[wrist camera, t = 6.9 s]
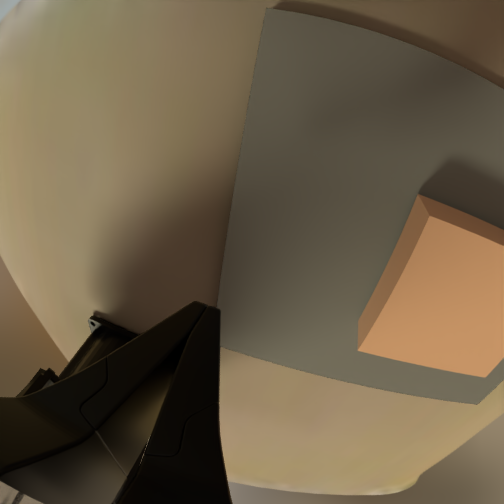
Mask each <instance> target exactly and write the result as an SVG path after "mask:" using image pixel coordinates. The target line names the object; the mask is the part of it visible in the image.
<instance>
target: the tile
mask: <svg viewBox="0 0 504 504" xmlns="http://www.w3.org/2000/svg"><path fill="white" fill-rule="evenodd" d="M358 351H361V352H365V353H369V354H373V355H377V356H381V357H386V358H390V359H394V360H399V361H403V362H408V363H412V364H417V365H422V366H426V367H431V368H436V369H441V370H446V371H451V372H457V373H462V374H467V375H473V376H479V377H486V376H487V375H488V374H489V373H490V372H491V371H492V370H493V369H494V368H495V367H496V366H497V365H498V364H499V362H500V361H501V360H502V359H503V358H504V230H503V229H500V228H498V227H496V226H494V225H492V224H490V223H487V222H485V221H483V220H481V219H479V218H476V217H474V216H472V215H469V214H467V213H465V212H462V211H460V210H457V209H455V208H453V207H450V206H448V205H445V204H443V203H440V202H438V201H435V200H433V199H430V198H427V197H425V196H422V195H420V194H418V195H417V197H416V200H415V202H414V205H413V207H412V210H411V212H410V214H409V217H408V219H407V221H406V224H405V226H404V228H403V231H402V233H401V235H400V238H399V240H398V242H397V244H396V246H395V249H394V251H393V253H392V255H391V257H390V259H389V261H388V264H387V266H386V268H385V270H384V272H383V274H382V276H381V278H380V280H379V282H378V284H377V286H376V288H375V290H374V292H373V294H372V296H371V298H370V300H369V302H368V303H367V305H366V307H365V309H364V311H363V313H362V315H361V317H360V318H359V320H358Z"/></svg>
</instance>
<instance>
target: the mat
mask: <svg viewBox="0 0 504 504" xmlns="http://www.w3.org/2000/svg"><path fill="white" fill-rule="evenodd" d="M418 194H420V195H422V196H425V197H427V198H430V199H433V200H435V201H438V202H440V203H443V204H445V205H448V206H450V207H453V208H455V209H457V210H460V211H462V212H465V213H467V214H469V215H472V216H474V217H476V218H479V219H481V220H483V221H485V222H487V223H490V224H492V225H494V226H496V227H498V228H500V229H503V230H504V89H502V88H501V87H499V86H497V85H495V84H494V83H492V82H490V81H488V80H487V79H485V78H483V77H481V76H479V75H477V74H476V73H474V72H472V71H470V70H468V69H466V68H464V67H462V66H460V65H458V64H456V63H454V62H452V61H449V60H447V59H445V58H443V57H441V56H438V55H436V54H434V53H431V52H429V51H427V50H424V49H422V48H419V47H417V46H414V45H412V44H409V43H406V42H404V41H401V40H398V39H395V38H393V37H390V36H387V35H384V34H381V33H378V32H374V31H371V30H368V29H365V28H361V27H358V26H354V25H350V24H347V23H343V22H339V21H335V20H331V19H326V18H322V17H317V16H312V15H307V14H302V13H296V12H291V11H285V10H278V9H271V8H266V12H265V17H264V22H263V27H262V32H261V37H260V43H259V48H258V53H257V58H256V64H255V69H254V74H253V80H252V85H251V91H250V96H249V102H248V108H247V113H246V119H245V125H244V131H243V137H242V143H241V149H240V155H239V161H238V167H237V173H236V179H235V185H234V192H233V198H232V204H231V211H230V217H229V224H228V231H227V237H226V244H225V251H224V258H223V265H222V272H221V279H220V286H219V293H218V301H217V308H218V309H220V310H221V335H220V347H223V348H226V349H229V350H232V351H236V352H239V353H242V354H245V355H248V356H251V357H255V358H258V359H261V360H265V361H268V362H272V363H275V364H278V365H282V366H285V367H289V368H293V369H296V370H300V371H304V372H308V373H311V374H315V375H319V376H323V377H327V378H331V379H336V380H340V381H344V382H348V383H353V384H357V385H362V386H366V387H371V388H376V389H381V390H386V391H391V392H396V393H402V394H407V395H413V396H419V397H425V398H431V399H438V400H445V401H452V402H459V403H467V404H476V405H478V404H479V403H480V402H481V401H482V400H483V399H484V398H485V397H486V396H487V395H488V394H490V393H491V392H492V391H493V390H494V389H495V388H496V387H497V386H498V385H499V384H500V383H501V382H502V381H503V380H504V358H503V359H502V360H501V361H500V362H499V364H498V365H497V366H496V367H495V368H494V369H493V370H492V371H491V372H490V373H489V374H488V375H487V376H486V377H479V376H473V375H467V374H462V373H457V372H451V371H446V370H441V369H436V368H431V367H426V366H422V365H417V364H412V363H408V362H403V361H399V360H394V359H390V358H386V357H381V356H377V355H373V354H369V353H365V352H361V351H358V320H359V318H360V317H361V315H362V313H363V311H364V309H365V307H366V305H367V303H368V302H369V300H370V298H371V296H372V294H373V292H374V290H375V288H376V286H377V284H378V282H379V280H380V278H381V276H382V274H383V272H384V270H385V268H386V266H387V264H388V261H389V259H390V257H391V255H392V253H393V251H394V249H395V246H396V244H397V242H398V240H399V238H400V235H401V233H402V231H403V228H404V226H405V224H406V221H407V219H408V217H409V214H410V212H411V210H412V207H413V205H414V202H415V200H416V197H417V195H418Z"/></svg>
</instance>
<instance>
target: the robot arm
mask: <svg viewBox="0 0 504 504" xmlns="http://www.w3.org/2000/svg"><path fill="white" fill-rule="evenodd" d="M88 323H89V327H90V330H91V335H90V336H89V337H88V338H87V340H86V341H85V342H84V344H83V345H82V346H81V347H80V349H79V350H78V351H77V353H76V354H75V355H74V357H73V358H72V359H71V360H70V362H69V363H68V365H67V366H66V367H65V368H64V370H63V371H62V373H61V374H60V375H59V377H58V376H57V375H55V372H54V371H53V370H52V369H50V368H49V369H48V370H47V371H45V370H43V369H41V368H40V370H39V371H38V372H37V373H36V375H35V376H34V377H33V379H32V380H31V381H30V383H29V384H28V385H27V386H26V387H25V388H24V389H23V390H22V391H21V392H20V393H19V394H18V395H17V396H16V397H0V504H232V500H231V496H230V491H229V486H228V480H227V475H226V469H225V463H224V458H223V452H222V445H221V437H220V421H219V386H220V335H221V310H220V309H218V308H215V307H212V306H208V307H207V305H206V304H204V303H201V302H198V301H194V302H192V303H190V304H189V305H187V306H185V307H184V308H182V309H181V310H179V311H177V312H176V313H174V314H173V315H171V316H170V317H168V318H166V319H165V320H163V321H162V322H160V323H158V324H157V325H155V326H154V327H152V328H150V329H149V330H147V331H146V332H144V333H142V334H141V335H139V336H138V335H135V334H133V333H131V332H128V331H126V330H124V329H121V328H119V327H117V326H115V325H112V324H110V323H108V322H106V321H104V320H101V319H99V318H97V317H95V316H91V317H90V318H89V320H88ZM150 435H151V436H150ZM149 437H150V439H149ZM148 439H149V441H148ZM147 442H148V444H147ZM146 445H147V447H146ZM145 448H146V450H145ZM144 451H145V452H144ZM143 454H144V456H143ZM142 456H143V458H142ZM141 459H142V461H141ZM140 462H141V463H140Z"/></svg>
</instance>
